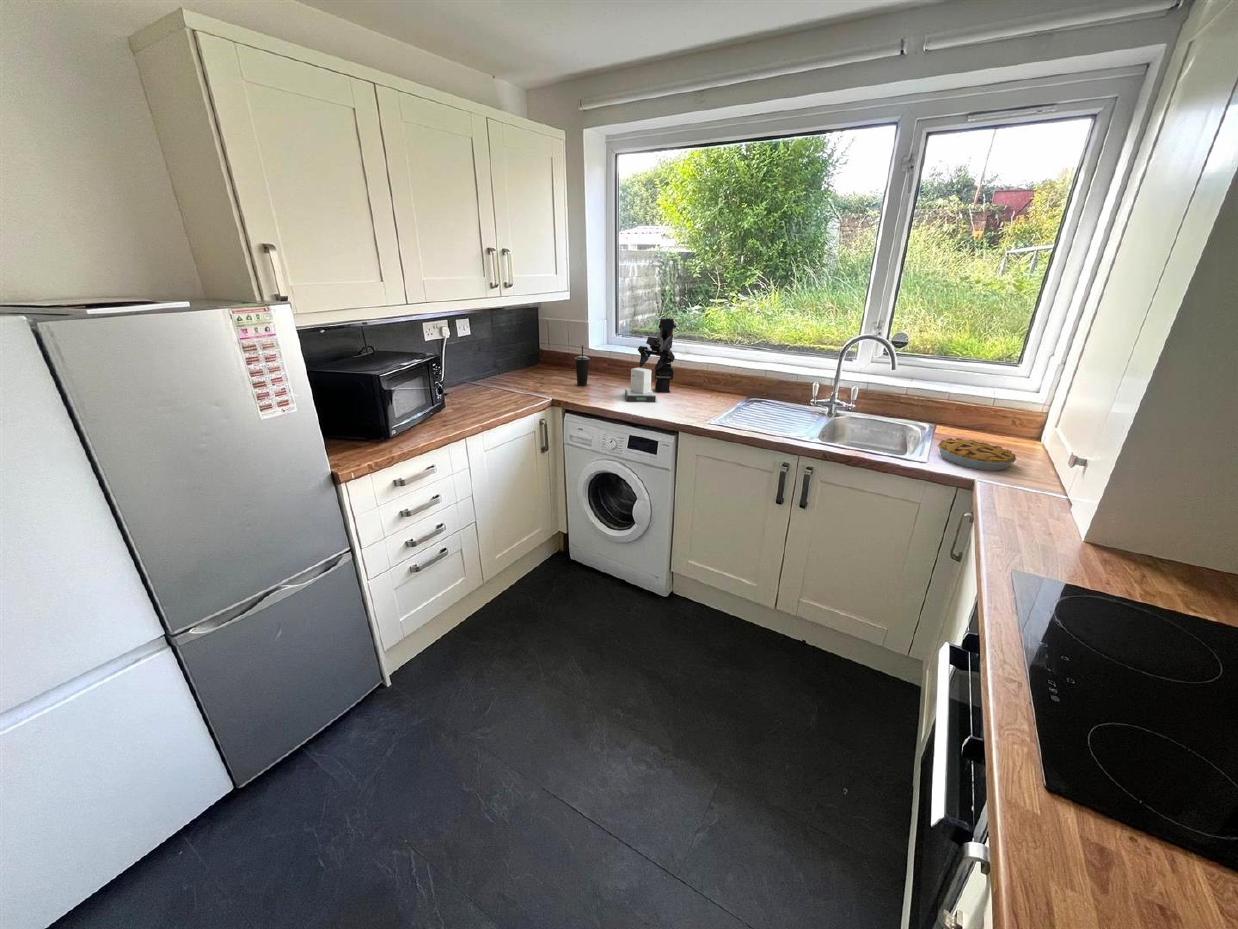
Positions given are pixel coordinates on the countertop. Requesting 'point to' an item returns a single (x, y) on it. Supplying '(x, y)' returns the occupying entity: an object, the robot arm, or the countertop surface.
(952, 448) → the pie
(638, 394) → the kitchen scale
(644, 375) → the small box
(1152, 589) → the countertop surface
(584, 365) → the drinking cup
